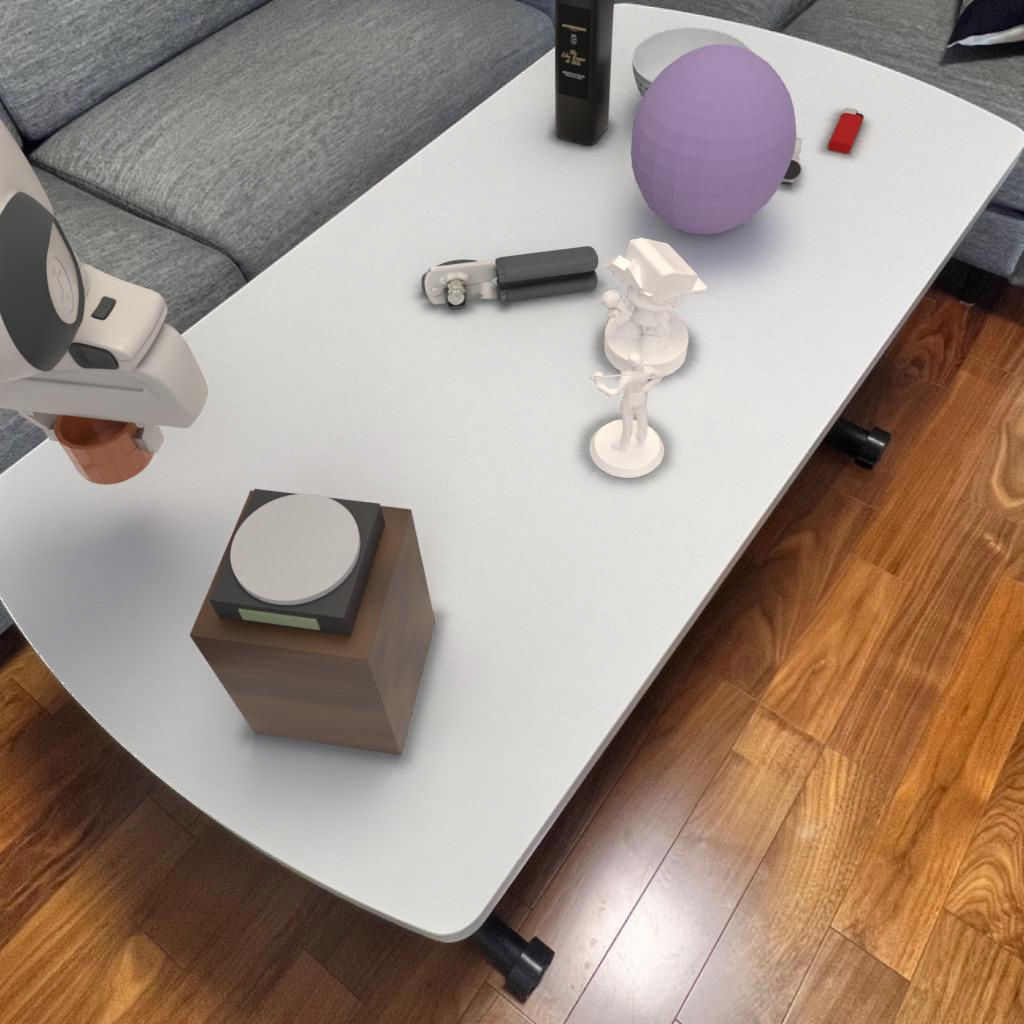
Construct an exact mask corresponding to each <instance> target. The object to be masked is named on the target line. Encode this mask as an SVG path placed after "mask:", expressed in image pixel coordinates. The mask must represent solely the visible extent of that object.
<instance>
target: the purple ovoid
mask: <svg viewBox="0 0 1024 1024" xmlns="http://www.w3.org/2000/svg"><path fill="white" fill-rule="evenodd" d="M796 138H798V136H797V123H796V113H795V107H794V103H793V100H792V96H791V93H790V91H789V90H788V88H787V86H786V84H785V82H784V80H783V79H782V78H781V76H780V75H779V73H777V71H776V70H775V68H774V67H773V66H772V65H771V64H770V63H769V61H767V60H765V59H764V58H762V57H761V56H760V55H758V54H757V53H755V52H753V50H752V51H750V50H748V49H745V48H742V47H739V46H734V45H726V44H715V45H708V46H703V47H700V48H698V49H695V50H692V51H690V52H688V53H686V54H684V55H682V56H681V57H679V58H678V59H676V60H675V61H674V62H672V63H671V64H670V65H668V66H667V67H666V68H665V69H663V70H662V72H661V73H660V74H659V75H658V76H657V77H656V78H655V79H654V81H653V82H652V84H651V85H650V87H649V88H648V90H647V92H646V93H645V95H644V97H642V99H641V100H640V103H639V104H638V106H637V109H636V113H635V116H634V119H633V123H632V131H631V142H630V158H631V168H632V173H633V176H634V181H635V183H636V184H637V187H638V189H639V191H640V193H641V195H642V198H643V200H644V202H645V203H646V205H647V206H648V208H649V209H650V210H651V211H652V212H653V213H654V214H655V215H656V216H658V217H659V218H660V220H662V222H664V223H665V224H667V225H669V226H671V227H672V228H676V229H677V230H680V231H682V232H685V233H689V234H694V235H715V234H721V233H725V232H727V231H729V230H732V229H734V228H737V227H738V226H741V225H743V224H744V223H746V222H747V221H749V220H750V219H751V218H752V217H754V216H755V215H756V214H757V213H758V212H759V211H761V210H762V209H763V208H764V207H765V206H766V205H767V204H768V203H769V201H770V200H771V199H772V198H773V197H774V196H775V194H776V193H777V190H778V189H779V187H780V185H781V184H782V183H783V181H782V180H783V178H784V176H785V174H786V172H787V169H788V167H789V165H790V162H791V159H792V157H793V154H794V150H795V143H796Z"/></svg>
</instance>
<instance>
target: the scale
mask: <svg viewBox="0 0 1024 1024" xmlns="http://www.w3.org/2000/svg"><path fill="white" fill-rule="evenodd" d="M253 491H254V492H253V494H252V497H251V499H250V501H249V504H248V506H247V508H246V511H245V513H244V516H243V518H242V520H241V523H240V525H239V528H238V530H237V532H236V535H235V537H234V539H233V542H232V544H231V547H230V549H229V552H228V554H227V556H226V559H225V561H224V563H223V566H222V568H221V571H220V573H219V575H218V578H217V580H216V583H215V585H214V587H213V590H212V592H211V595H210V597H209V602H210V603H211V605H212V607H213V608H214V610H215V612H216V613H217V615H218V617H219V618H222V619H229V620H237V621H244V622H251V623H258V624H265V625H273V626H280V627H287V628H294V629H301V630H308V631H316V632H323V633H330V634H337V635H344V636H351V634H352V630H353V627H354V624H355V621H356V617H357V614H358V611H359V608H360V604H361V601H362V598H363V595H364V591H365V588H366V585H367V582H368V578H369V575H370V572H371V569H372V565H373V562H374V559H375V556H376V552H377V549H378V546H379V543H380V539H381V536H382V533H383V530H384V526H385V521H384V517H383V513H382V509H381V506H382V505H381V503H378V502H370V501H363V500H362V501H361V500H354V499H353V500H352V499H343V498H336V497H327V496H324V495H320V494H314V493H295V492H294V493H293V492H286V491H277V490H269V489H262V488H261V489H260V488H254V490H253Z"/></svg>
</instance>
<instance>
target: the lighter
mask: <svg viewBox="0 0 1024 1024" xmlns="http://www.w3.org/2000/svg"><path fill="white" fill-rule="evenodd" d="M864 118H865V116H864V115H863V114H862V113H859V110H858V109H856V108H852V107H845V108H843V110H842V112H841V114H840V116H839V119H838V121H837V123H836V126H835V128H834V130H833V132H832V134H831V137H830V139H829V141H828V144H827V149H828V150H830V151H833V152H837V153H842V154H848V153H850V152H851V150H852V147H853V145H854V143H855V140H856V138H857V136H858V133H859V131H860V129H861V127H862V124H863V122H864Z"/></svg>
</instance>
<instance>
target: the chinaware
mask: <svg viewBox="0 0 1024 1024" xmlns="http://www.w3.org/2000/svg"><path fill="white" fill-rule="evenodd" d="M715 44H726V45H734V46H739V47H742V48H745V49H748V50H750V51H752V52H753V50H752V49H751V48H750V46H749V45H748V44H747V43H746V42H744V41H743V40H741V39H740V38H738V37H737V36H734V35H732V34H730V33H728V32H725V31H721V30H718V29H713V28H707V27H695V26H694V27H692V26H690V27H689V26H688V27H676V28H670V29H665V30H662V31H658V32H656V33H653V34H651V35H649V36H647V37H645V38H644V39H643V40H641V41H640V42H639V43H638V44H637V45H636V46H635V47H634V49H633V52H632V55H631V65H632V73H633V77H634V81H635V84H636V87H637V90H638V92H639V94H640V95H641V97H642V98H643V97H644V95H645V93H646V92H647V90H648V88H649V87H650V85H651V84H652V82H653V81H654V79H655V78H656V77H657V76H658V75H659V74H660V73H661V72H662V70H663V69H665V68H666V67H667V66H668V65H670V64H671V63H672V62H674V61H675V60H676V59H678V58H679V57H681V56H682V55H684V54H686V53H688V52H690V51H692V50H695V49H698V48H700V47H703V46H708V45H715Z"/></svg>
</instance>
